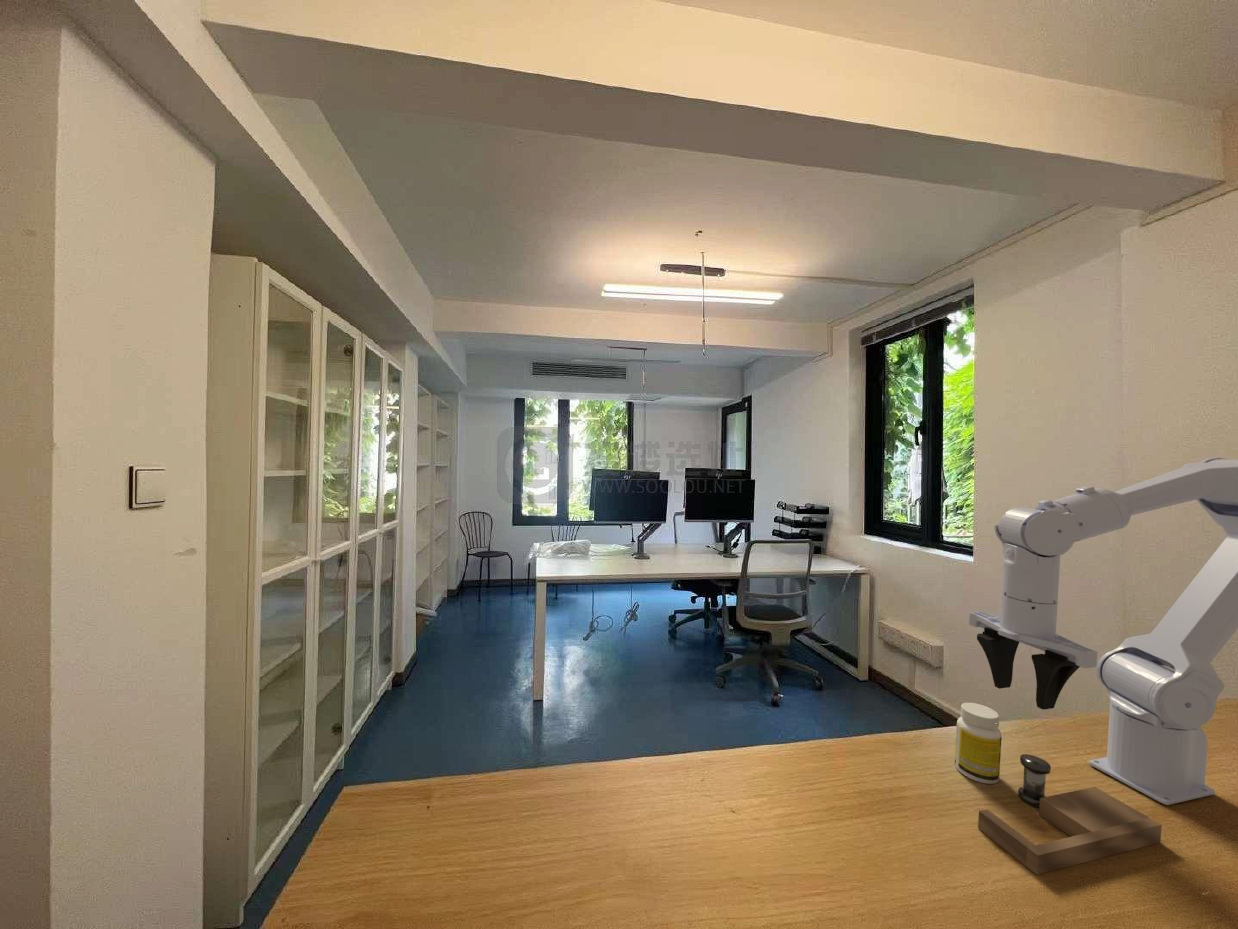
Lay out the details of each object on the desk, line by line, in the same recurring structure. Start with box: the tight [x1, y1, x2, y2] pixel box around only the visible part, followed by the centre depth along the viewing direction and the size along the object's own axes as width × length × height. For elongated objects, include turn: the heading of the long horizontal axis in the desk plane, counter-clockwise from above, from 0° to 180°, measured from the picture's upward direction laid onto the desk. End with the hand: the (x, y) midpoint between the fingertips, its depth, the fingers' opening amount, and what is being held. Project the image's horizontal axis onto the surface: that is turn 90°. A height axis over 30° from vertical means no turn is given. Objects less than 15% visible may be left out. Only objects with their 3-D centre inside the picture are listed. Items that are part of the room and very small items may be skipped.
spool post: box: [1017, 753, 1052, 809], centre depth 58 cm, size 3×3×5 cm
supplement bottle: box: [954, 702, 1003, 785], centre depth 63 cm, size 5×5×8 cm
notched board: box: [977, 786, 1163, 876], centre depth 53 cm, size 18×6×2 cm, turn 105°
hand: (1023, 696), depth 65 cm, fingers open, 5 cm apart
